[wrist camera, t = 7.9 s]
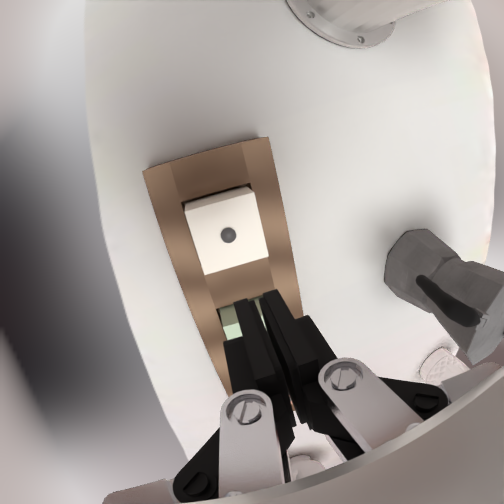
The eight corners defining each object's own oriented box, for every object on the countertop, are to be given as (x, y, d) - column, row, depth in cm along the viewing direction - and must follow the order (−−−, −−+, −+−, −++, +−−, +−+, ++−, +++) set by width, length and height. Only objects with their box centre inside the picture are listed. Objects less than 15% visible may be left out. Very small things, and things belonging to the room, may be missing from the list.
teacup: (311, 433, 42) (331, 478, 33) (330, 457, 48) (347, 493, 39) (248, 459, 42) (260, 504, 33) (279, 479, 48) (291, 515, 39)
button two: (219, 307, 26) (223, 328, 23) (271, 291, 27) (281, 310, 24) (233, 346, 28) (238, 369, 25) (280, 332, 29) (290, 353, 26)
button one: (185, 203, 23) (184, 212, 19) (246, 185, 23) (254, 192, 20) (202, 259, 25) (204, 276, 21) (259, 242, 25) (269, 257, 22)
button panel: (148, 168, 23) (142, 171, 20) (259, 137, 24) (268, 136, 21) (239, 409, 36) (243, 425, 33) (308, 387, 37) (316, 402, 34)
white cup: (439, 339, 40) (474, 373, 31) (453, 350, 43) (484, 380, 34) (410, 374, 42) (441, 411, 33) (426, 381, 44) (454, 414, 35)
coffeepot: (452, 242, 33) (552, 300, 17) (424, 302, 36) (509, 376, 19) (376, 204, 29) (518, 272, 12) (343, 283, 31) (448, 393, 15)
